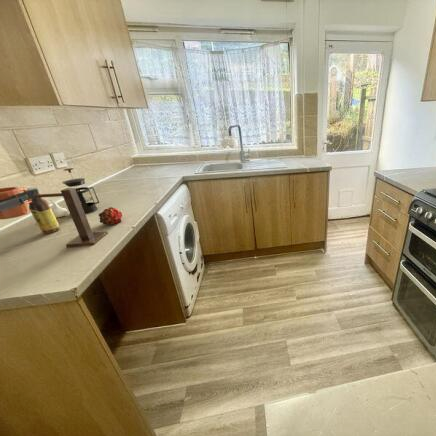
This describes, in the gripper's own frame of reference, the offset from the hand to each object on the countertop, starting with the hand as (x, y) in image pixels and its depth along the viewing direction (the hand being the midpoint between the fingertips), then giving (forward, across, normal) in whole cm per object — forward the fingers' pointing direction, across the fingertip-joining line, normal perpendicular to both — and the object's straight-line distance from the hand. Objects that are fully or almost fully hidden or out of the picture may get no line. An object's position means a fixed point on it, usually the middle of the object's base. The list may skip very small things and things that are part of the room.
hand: (18, 194), depth 88 cm
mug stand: (+2, +11, -21) cm, 24 cm away
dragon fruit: (+19, +16, -22) cm, 33 cm away
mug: (-3, 0, -6) cm, 7 cm away
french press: (+39, -7, -21) cm, 45 cm away
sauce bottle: (+15, -8, -22) cm, 27 cm away
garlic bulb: (+34, -17, -22) cm, 43 cm away
